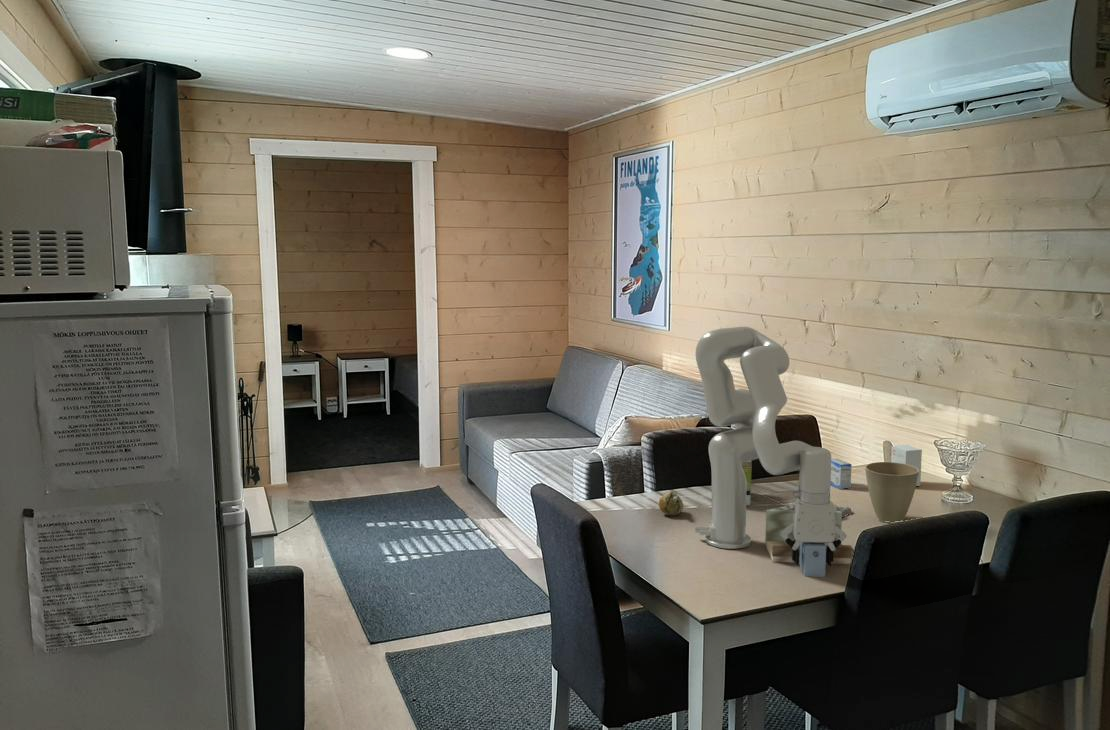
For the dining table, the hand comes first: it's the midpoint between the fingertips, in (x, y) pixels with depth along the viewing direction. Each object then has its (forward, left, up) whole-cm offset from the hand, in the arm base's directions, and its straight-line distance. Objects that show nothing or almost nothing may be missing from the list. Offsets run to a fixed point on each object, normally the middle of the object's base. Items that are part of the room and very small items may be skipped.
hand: (812, 563), depth 210 cm
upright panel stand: (+1, +12, -2) cm, 12 cm away
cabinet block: (0, 0, -2) cm, 2 cm away
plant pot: (+31, +42, -2) cm, 52 cm away
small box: (+47, +80, -2) cm, 93 cm away
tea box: (-14, +60, -2) cm, 62 cm away
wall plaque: (+9, +44, -3) cm, 45 cm away
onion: (-34, +43, -2) cm, 55 cm away
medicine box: (+24, +77, -2) cm, 81 cm away
